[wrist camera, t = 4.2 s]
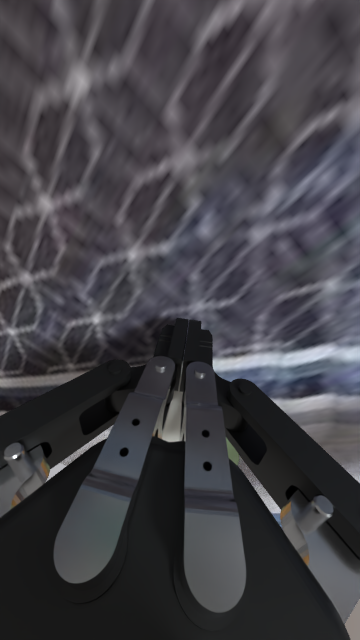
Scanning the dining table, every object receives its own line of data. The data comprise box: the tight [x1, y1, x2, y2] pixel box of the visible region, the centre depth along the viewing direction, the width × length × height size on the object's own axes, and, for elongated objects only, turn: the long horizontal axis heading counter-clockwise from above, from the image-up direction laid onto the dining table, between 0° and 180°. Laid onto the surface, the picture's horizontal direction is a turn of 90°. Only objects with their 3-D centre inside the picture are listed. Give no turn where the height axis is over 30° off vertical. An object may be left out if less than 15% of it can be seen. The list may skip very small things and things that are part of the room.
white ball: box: [162, 363, 183, 442], centre depth 16 cm, size 6×6×6 cm
